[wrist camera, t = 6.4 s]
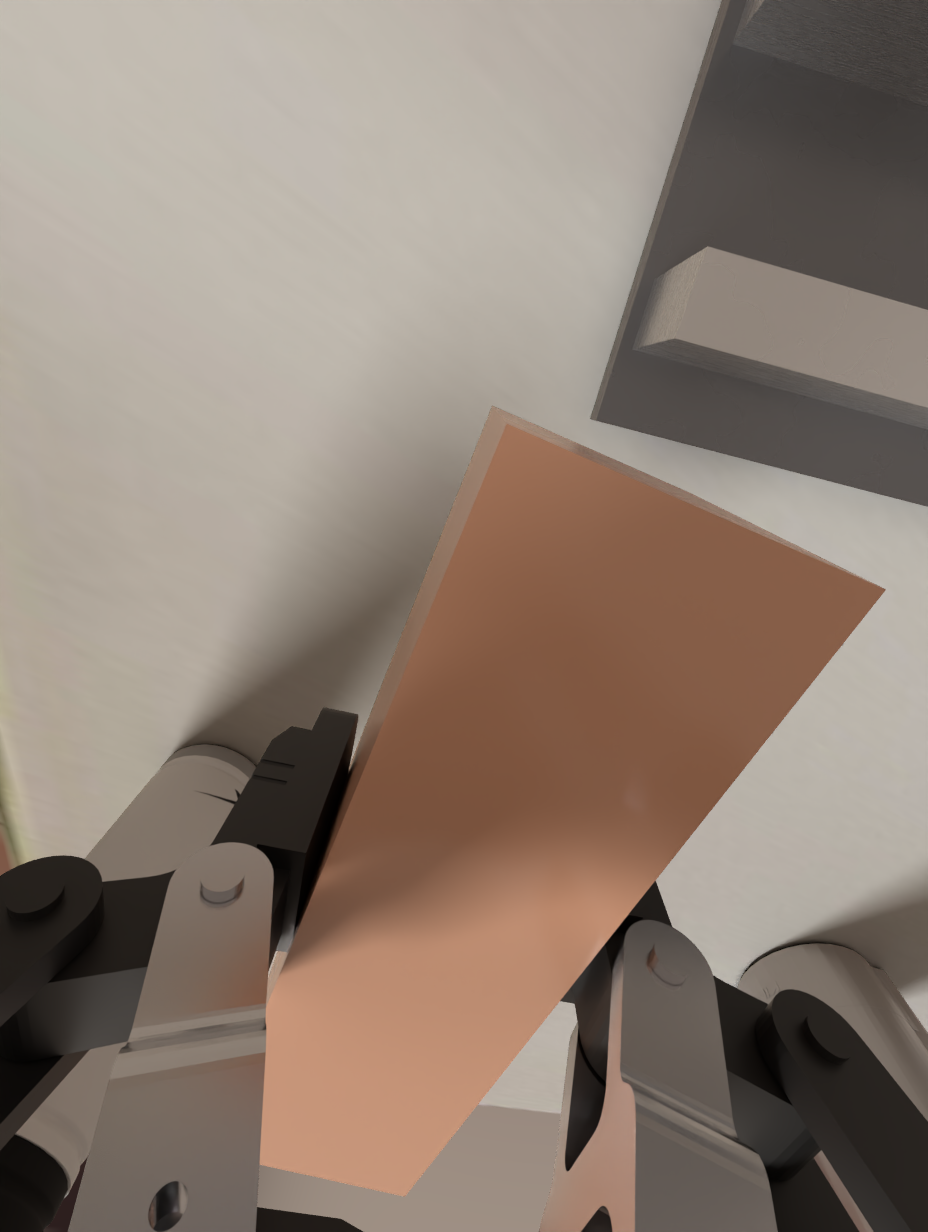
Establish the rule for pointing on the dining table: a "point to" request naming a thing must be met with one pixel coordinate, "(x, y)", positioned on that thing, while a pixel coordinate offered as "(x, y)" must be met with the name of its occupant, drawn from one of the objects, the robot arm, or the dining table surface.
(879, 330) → the aluminium rail channel
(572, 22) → the dining table surface
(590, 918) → the clay strip
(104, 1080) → the travel mug
